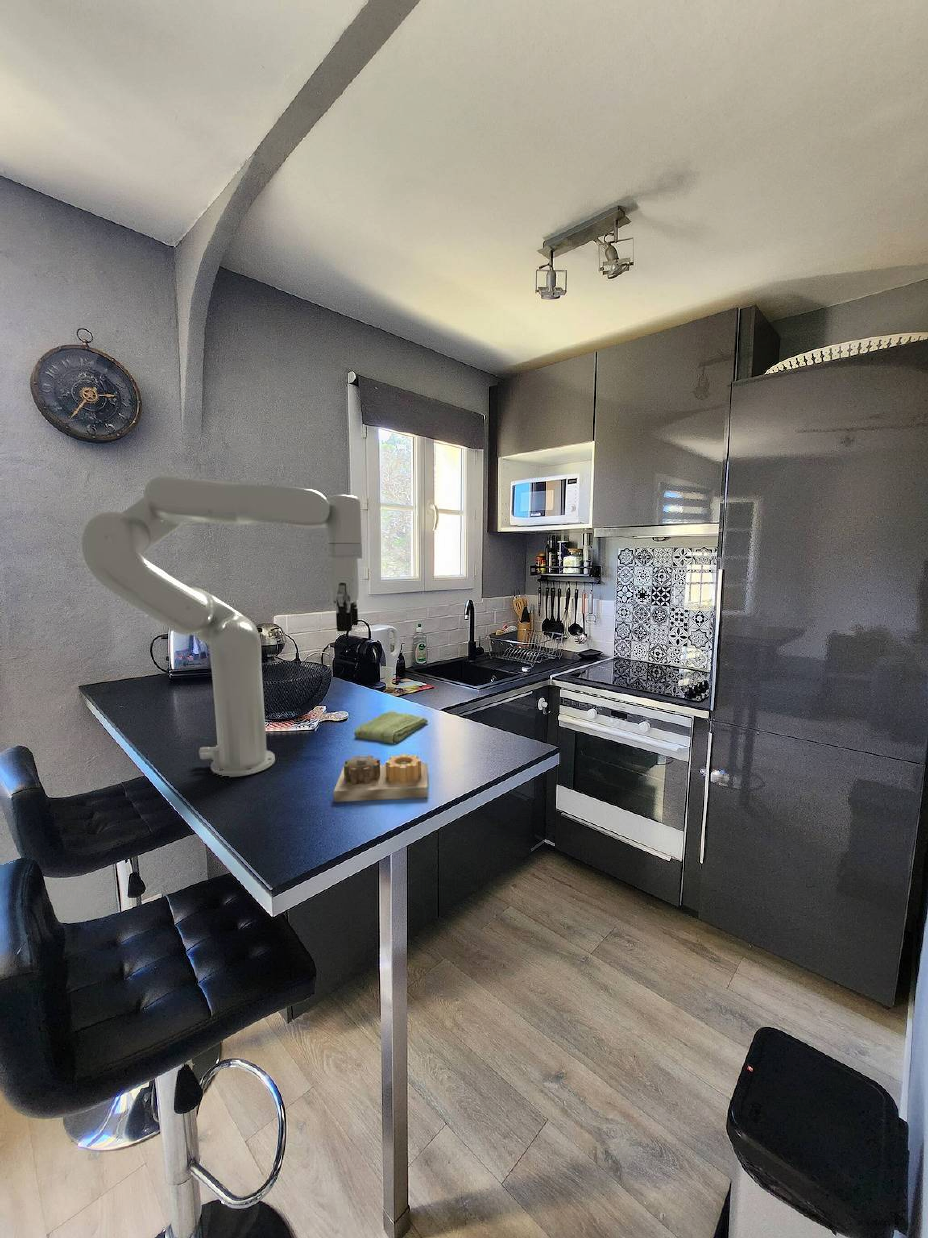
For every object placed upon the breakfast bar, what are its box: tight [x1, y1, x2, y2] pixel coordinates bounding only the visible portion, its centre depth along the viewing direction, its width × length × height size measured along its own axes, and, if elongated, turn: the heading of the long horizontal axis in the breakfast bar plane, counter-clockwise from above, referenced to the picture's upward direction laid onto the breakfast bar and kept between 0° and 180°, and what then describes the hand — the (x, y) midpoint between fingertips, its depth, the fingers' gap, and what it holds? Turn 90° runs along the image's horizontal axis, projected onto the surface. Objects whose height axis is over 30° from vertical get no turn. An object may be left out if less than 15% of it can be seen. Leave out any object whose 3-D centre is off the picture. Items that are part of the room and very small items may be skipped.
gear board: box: [333, 755, 429, 803], centre depth 97 cm, size 17×11×6 cm, turn 94°
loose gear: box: [385, 753, 422, 783], centre depth 97 cm, size 7×7×3 cm
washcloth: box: [353, 710, 429, 745], centre depth 129 cm, size 13×18×3 cm
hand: (347, 628), depth 114 cm, fingers open, 9 cm apart
